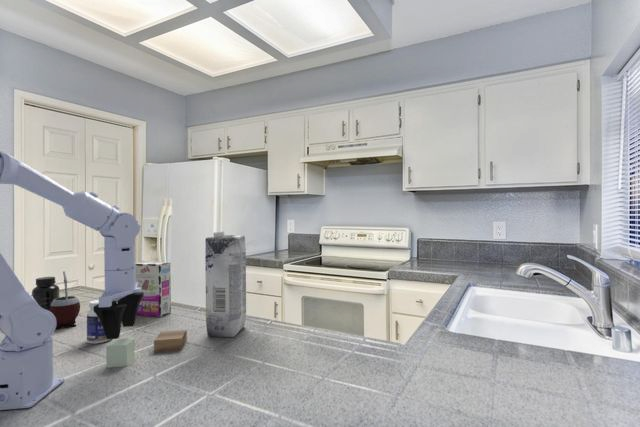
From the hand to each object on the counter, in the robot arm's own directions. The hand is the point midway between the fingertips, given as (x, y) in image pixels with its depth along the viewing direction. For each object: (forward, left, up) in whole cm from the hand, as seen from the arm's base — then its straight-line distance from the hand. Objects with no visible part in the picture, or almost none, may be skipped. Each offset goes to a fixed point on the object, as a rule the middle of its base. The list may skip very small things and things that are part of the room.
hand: (121, 332), depth 73 cm
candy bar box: (+37, +6, -7) cm, 38 cm away
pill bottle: (+15, +11, -7) cm, 20 cm away
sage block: (0, 0, -7) cm, 7 cm away
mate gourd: (+29, +27, -7) cm, 40 cm away
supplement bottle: (+41, +39, -7) cm, 57 cm away
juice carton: (+16, -20, -7) cm, 26 cm away
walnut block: (+8, -8, -7) cm, 13 cm away
